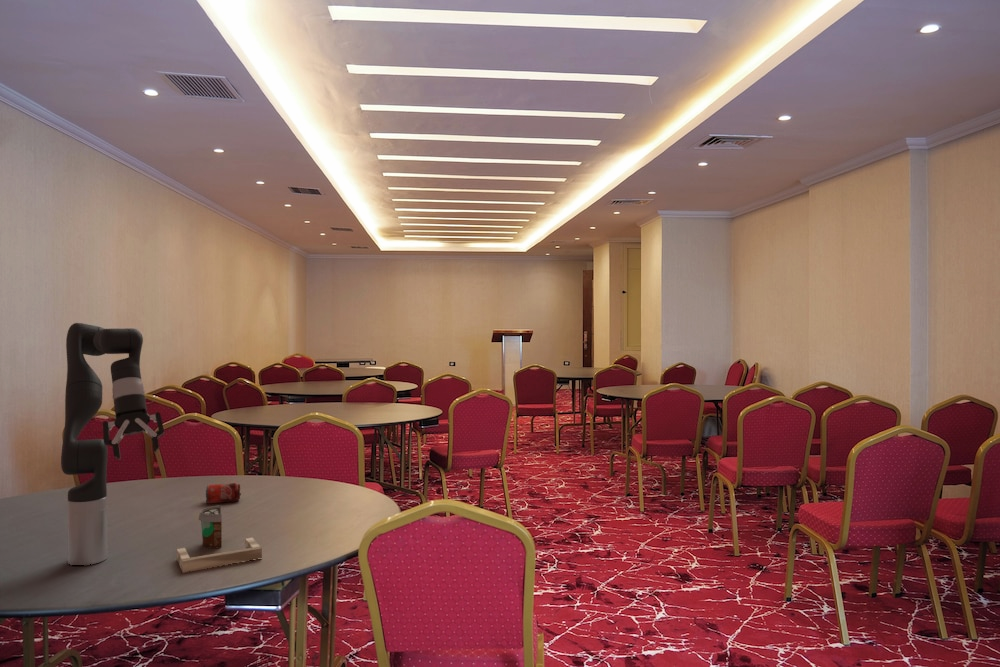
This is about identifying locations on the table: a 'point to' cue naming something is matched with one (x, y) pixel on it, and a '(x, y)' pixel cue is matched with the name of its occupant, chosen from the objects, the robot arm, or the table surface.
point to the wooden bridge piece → (219, 557)
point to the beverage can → (222, 493)
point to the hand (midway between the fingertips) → (137, 455)
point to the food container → (211, 526)
